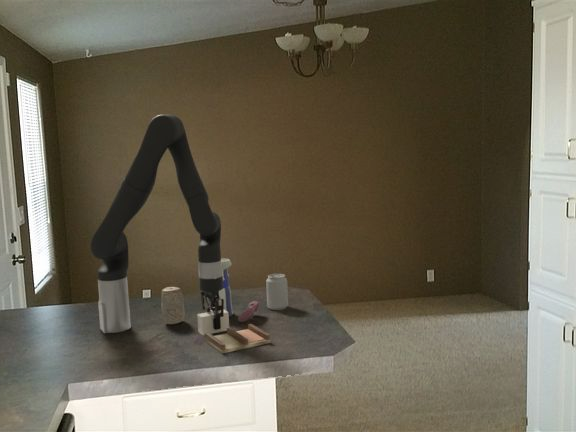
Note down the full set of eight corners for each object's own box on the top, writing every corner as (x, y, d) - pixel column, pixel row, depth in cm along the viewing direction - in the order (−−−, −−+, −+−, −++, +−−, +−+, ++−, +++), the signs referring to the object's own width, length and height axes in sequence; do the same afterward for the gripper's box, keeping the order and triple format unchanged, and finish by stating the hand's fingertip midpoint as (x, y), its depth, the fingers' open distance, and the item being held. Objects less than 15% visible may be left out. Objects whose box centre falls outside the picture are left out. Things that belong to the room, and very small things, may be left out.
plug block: (202, 335, 184) (201, 317, 184) (198, 332, 188) (197, 314, 187) (229, 330, 189) (228, 312, 188) (224, 327, 192) (223, 309, 191)
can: (265, 306, 214) (263, 274, 213) (284, 303, 216) (283, 271, 215) (270, 311, 207) (269, 278, 205) (290, 309, 209) (289, 276, 208)
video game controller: (248, 327, 196) (257, 309, 194) (236, 321, 196) (244, 303, 195) (256, 318, 205) (264, 301, 204) (244, 312, 206) (252, 295, 204)
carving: (161, 321, 200) (159, 287, 199) (183, 318, 203) (181, 284, 201) (163, 327, 194) (161, 291, 193) (186, 324, 197) (184, 289, 195)
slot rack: (221, 353, 168) (221, 345, 167) (205, 340, 179) (204, 333, 179) (270, 342, 175) (270, 334, 175) (251, 331, 186) (251, 323, 186)
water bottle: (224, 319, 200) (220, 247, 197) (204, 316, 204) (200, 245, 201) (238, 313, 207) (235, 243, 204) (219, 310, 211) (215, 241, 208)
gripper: (191, 272, 190) (194, 323, 193) (207, 280, 178) (210, 334, 180) (213, 269, 194) (216, 319, 196) (230, 277, 181) (233, 330, 184)
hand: (213, 326), depth 188 cm, fingers open, 5 cm apart
